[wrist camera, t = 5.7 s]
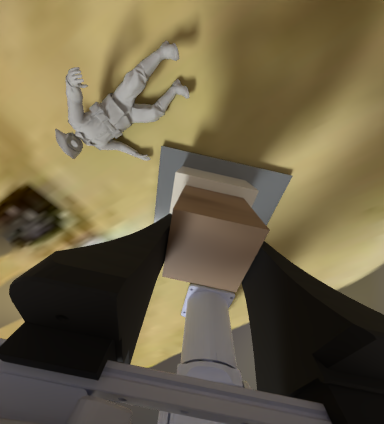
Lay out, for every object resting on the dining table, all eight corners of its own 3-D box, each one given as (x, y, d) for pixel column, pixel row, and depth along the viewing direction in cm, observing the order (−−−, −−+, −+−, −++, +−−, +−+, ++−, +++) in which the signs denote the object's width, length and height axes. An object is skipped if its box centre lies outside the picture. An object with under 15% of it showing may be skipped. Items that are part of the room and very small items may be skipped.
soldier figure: (199, 127, 14) (110, 195, 15) (177, 110, 17) (100, 169, 17) (169, -1, 7) (-2, 132, 8) (137, -3, 10) (4, 101, 10)
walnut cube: (225, 244, 13) (236, 292, 9) (176, 233, 13) (162, 276, 9) (243, 198, 11) (269, 230, 7) (185, 184, 11) (173, 208, 7)
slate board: (247, 256, 20) (248, 259, 19) (153, 235, 20) (152, 238, 19) (289, 174, 15) (292, 175, 14) (162, 145, 14) (161, 145, 14)
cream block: (225, 232, 18) (231, 254, 14) (173, 221, 18) (165, 239, 14) (245, 180, 15) (258, 190, 11) (182, 166, 15) (175, 171, 11)
